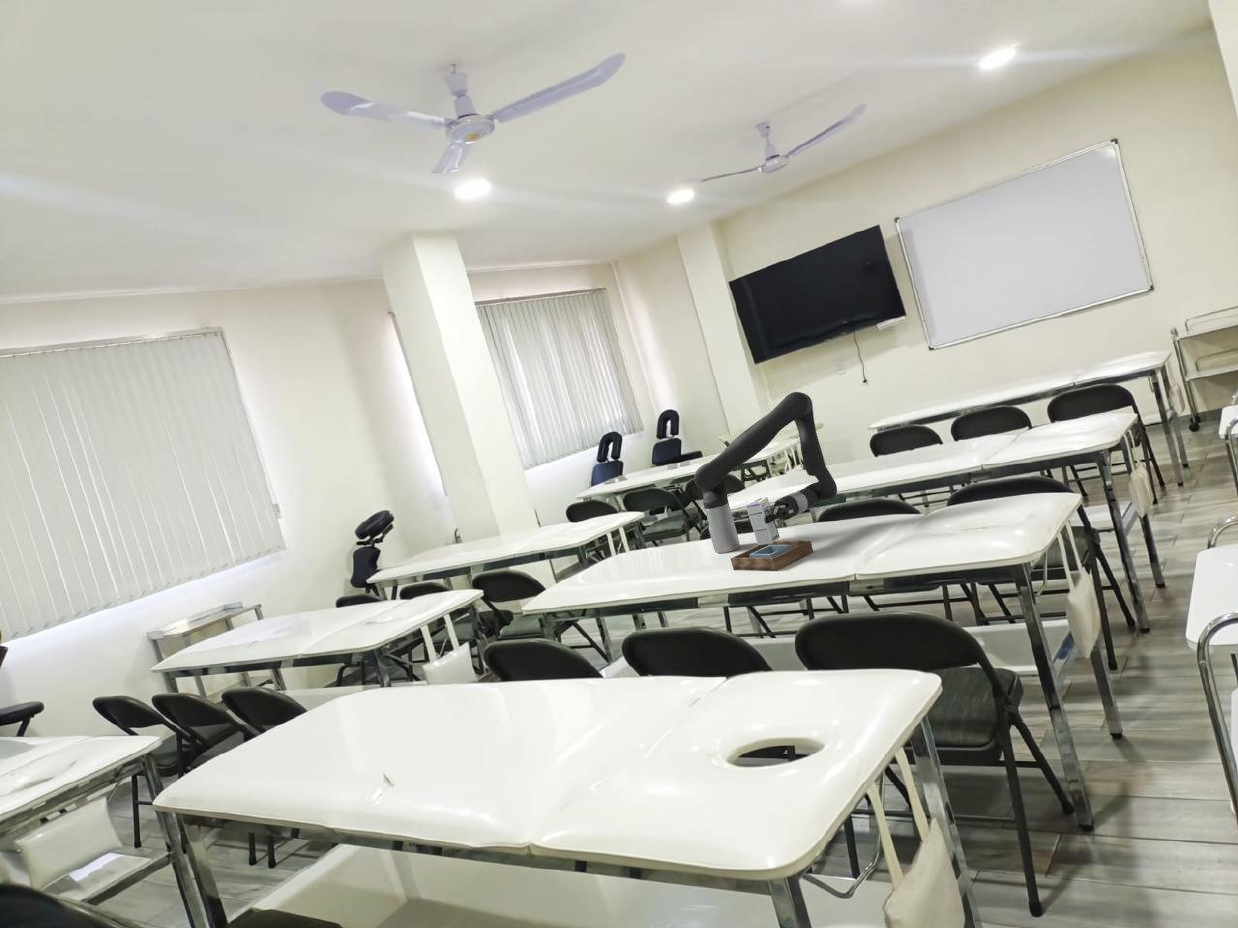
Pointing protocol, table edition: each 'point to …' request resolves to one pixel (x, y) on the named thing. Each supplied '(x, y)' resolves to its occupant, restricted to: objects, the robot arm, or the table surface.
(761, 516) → the syrup box
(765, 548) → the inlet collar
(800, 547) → the walnut tray
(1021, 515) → the table surface
